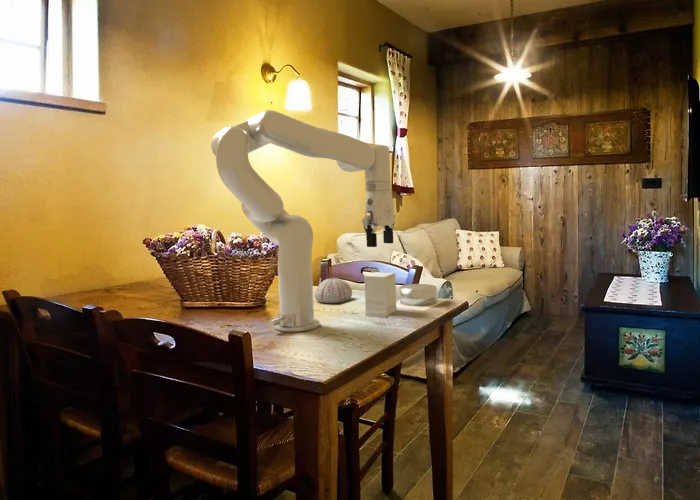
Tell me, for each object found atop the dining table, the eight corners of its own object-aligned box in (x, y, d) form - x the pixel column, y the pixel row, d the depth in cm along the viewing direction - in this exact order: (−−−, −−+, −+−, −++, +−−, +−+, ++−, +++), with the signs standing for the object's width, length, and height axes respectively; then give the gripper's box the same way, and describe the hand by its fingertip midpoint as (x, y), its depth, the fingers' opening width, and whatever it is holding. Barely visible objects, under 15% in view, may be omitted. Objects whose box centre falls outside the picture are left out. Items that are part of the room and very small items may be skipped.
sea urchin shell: (342, 306, 178) (341, 282, 177) (306, 303, 184) (305, 280, 183) (358, 298, 190) (358, 276, 189) (325, 296, 196) (324, 274, 195)
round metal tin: (426, 307, 167) (426, 291, 166) (393, 304, 173) (392, 288, 173) (442, 300, 176) (442, 285, 176) (410, 297, 183) (410, 283, 183)
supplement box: (397, 313, 164) (396, 272, 163) (386, 318, 158) (385, 276, 157) (376, 311, 168) (375, 271, 167) (364, 316, 162) (363, 275, 161)
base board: (424, 313, 163) (423, 310, 163) (384, 309, 171) (384, 306, 170) (448, 302, 178) (448, 299, 177) (410, 298, 185) (410, 296, 185)
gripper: (373, 188, 150) (376, 248, 152) (403, 186, 164) (405, 242, 166) (351, 189, 154) (354, 248, 156) (382, 187, 168) (384, 241, 170)
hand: (380, 245), depth 161 cm, fingers open, 9 cm apart
